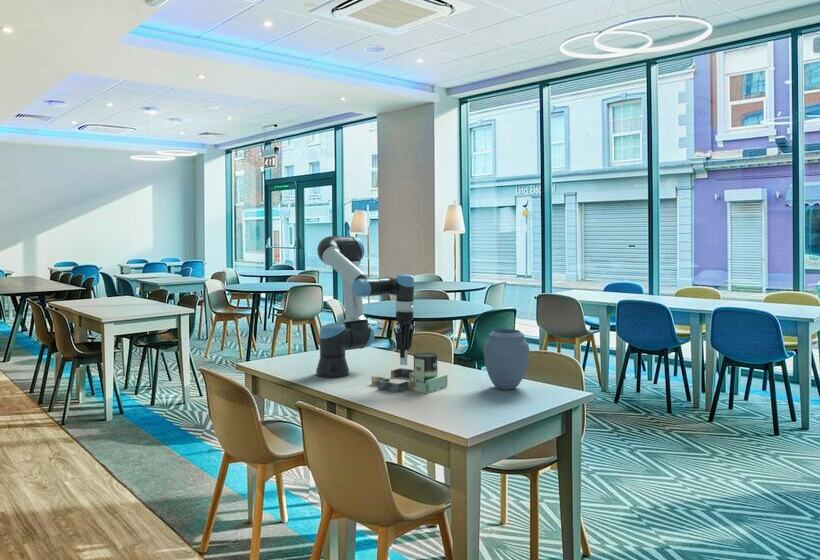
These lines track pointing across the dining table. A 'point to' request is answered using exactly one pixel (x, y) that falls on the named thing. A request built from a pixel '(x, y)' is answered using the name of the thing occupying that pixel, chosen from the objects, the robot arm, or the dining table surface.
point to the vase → (506, 357)
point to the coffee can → (425, 367)
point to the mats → (402, 377)
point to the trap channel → (395, 387)
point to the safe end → (433, 384)
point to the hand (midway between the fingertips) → (403, 364)
